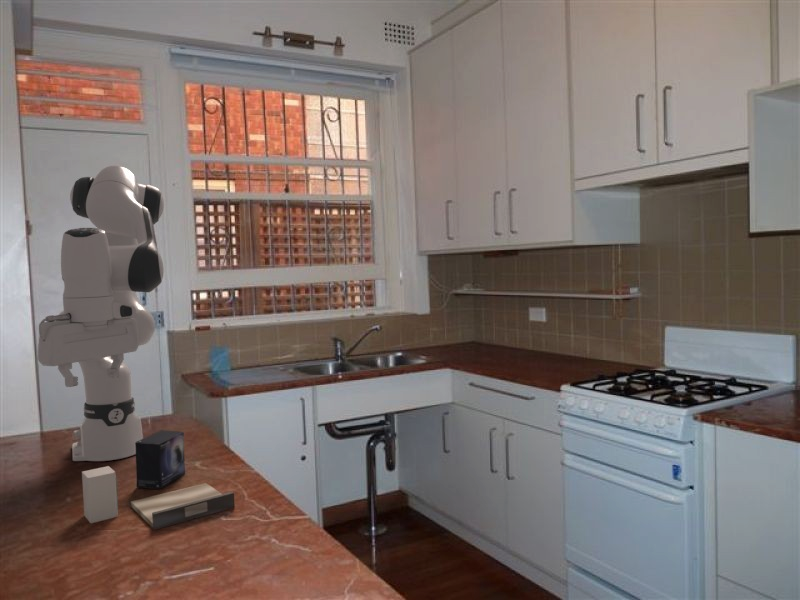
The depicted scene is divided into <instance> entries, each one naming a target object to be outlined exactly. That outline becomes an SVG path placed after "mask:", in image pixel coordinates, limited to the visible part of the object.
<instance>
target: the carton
mask: <svg viewBox="0 0 800 600" xmlns="http://www.w3.org/2000/svg"><path fill="white" fill-rule="evenodd" d="M81 480H82V495H83V496H82V497H83V511H84V514H83V515H84V517H85V518H86V520H87V521H88V522H89V523H90V524H94V523H98V522H101V521H106V520H109V519H113V518H116V517H117V518H118V515H119V512H118V511H119V509H118V507H119V500H118V484H117V483H118V482H117V480H118V479H117V475H116V471H115V470H114V469H112V468H111V467H110V466H109V465H107V466H103V467H98V468H97V467H96V468H93V469H92V468H91V469H89V470H84V471H83V470H82V471H81Z"/></svg>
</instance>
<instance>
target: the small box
mask: <svg viewBox="0 0 800 600" xmlns="http://www.w3.org/2000/svg"><path fill="white" fill-rule="evenodd" d="M184 433H185V432H184V431H178V430H177V431H175V430H164V429H160V430H159V431H156V432H154V433H152V434H151V435H148V436H146V437H143V439H141V440H139V441H137V442H135V447H136V454H135V471H136V474H135V475H136V488H139V489H141V488H142V489H154V490H162V489H163V488H165V487H166V486H168V485H169V484H172V483H173V482H175V481H176V480H177V479H179V478H181V477H182V476H184V475H186V464H185V435H184Z"/></svg>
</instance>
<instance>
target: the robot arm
mask: <svg viewBox="0 0 800 600" xmlns="http://www.w3.org/2000/svg"><path fill="white" fill-rule="evenodd" d="M69 197H70V198H69V200H70V203H71V207H72V211H73V212H74V213H75V214H76V215H77V216H79V217H82V218H84V219H89V221H90V222H91V223H92V224H93V225H94V226H95V227H80V228H79V227H78V228H72V229H68V230H65V232H64V233H62V234H63V235H62V240H61V250H60V269H61V272H60V273H61V279H62V281H63V283H64V284H63V285H64V288H63V294H62V305H63V310H62V311H61V312H60V313H59V314H57V315H47V316H45V318H44V319H42V320H41V321H40V322H39V324H38V335H39V336H38V346H37V347H38V348H37V360H38V362H39V363H40V364H41V365H42V366H44V367H45V366H46V367H56V366H57V370H58V371H59V373H61V375H62V377H63V378H64V385H65V387H67V388H72V387H77V386H78V385H79V382H78V380H79V378H78V377H79V376H75V375H74V374H73V373H72V372H71V370H72V369H73V363H78V365H79V367H80V369H81V372H82V377H83V383H84V392H85V394H84V395H85V402H84V405H83V416H84V418H83V420H82V421H81V424H80V429H76V430H73V440H79V439H80V441H76V442H73V443H72V446H71V454H72V455H71V456H72V461H73V462H85V461H88V462H106V461H113V460H120V459H124V458H128V457H131V456H134V455H136V447H135V442H137V441H139V440H141V439H144V435H143V428H142V427H143V426H142V421H141V420H142V419H141V417H139V415H137V414H136V413H135V410H136V408H135V405H136V404H135V400H134V399H135V398H134V397H133V393H132V392H133V391H132V376H131V375H132V374H131V373H132V372H131V369H130V368H129V367H128V365H127V364H125V363H124V359H125V358H124V356H125V354H129V353H134V352H136V351H137V350H138V348H139V347H140V346H144V345H147V344H148V343H149V342H150V341H151V339H152V338H153V336H154V334H155V330H156V323H155V322H156V321H155V319H154V316H153V314H152V313H151V311H149V310H148V309H147V308H146V307H145V306H144V305H143V304H142V303H141V301H140V300H139V297H138V295H137V293H151V292H152V291H154V290H155V289H156V288H158V287H159V285H161V284H162V282H163V278H164V272H165V271H164V263H163V259H162V257H161V254H160V253H159V250H158V243H157V237H156V233H155V226H154V225H156V224H157V223H158V222H159V221H160V218H161V217H162V215H163V213H164V208H165V203H164V202H165V201H164V198H163V196H162V191H161V190H160V189H159V188H157V187H156V186H153V185H150V184H143V183H138V180H137V178H136V176H135V175H134V173H133V172H132V171H131V170H129V169H128V168H126V167H124V166H121V165H110V166H106V167H105V168H103V169H101V170H100V171H99V173H98V174H97V175H96V176H95V177H93V176H85V177H80V178H78V179H77V180H75V182H74V184H73V186H72V187H71V190H70V195H69Z"/></svg>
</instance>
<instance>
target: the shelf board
mask: <svg viewBox="0 0 800 600" xmlns="http://www.w3.org/2000/svg"><path fill="white" fill-rule="evenodd" d="M130 507H131V508H132V510H134V511H135V512H136V513H137V514H138V515H139V516H140V517H141V518H142V519H143V520H144V521H145V522H146V523H147V524H148V525H149V526H150V527H151V528H152V530H159V529H162V528H166V527H169V526H173V525H177V524H181V523H184V522H188V521H191V520H194V518H195V519H198V518H201V517H205V516H208V515H211V514H216V513H219V511H220V512H223V511H227V510H230V509H234V508H235V492H233V491H229V492H225V493H221V492H220V491H218V490H217V489H216V488H214V487H213V486H211V485H210V484H208V483H207V482H204V483H200V484H196V485H192V486H189V487H184V488H180V489H179V488H178V489H177V490H172V491H167V492H164V493H160V494H156V495H152V496H148V497H144V498H140V499H135V500H132V501H130ZM187 520H188V521H187Z"/></svg>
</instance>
